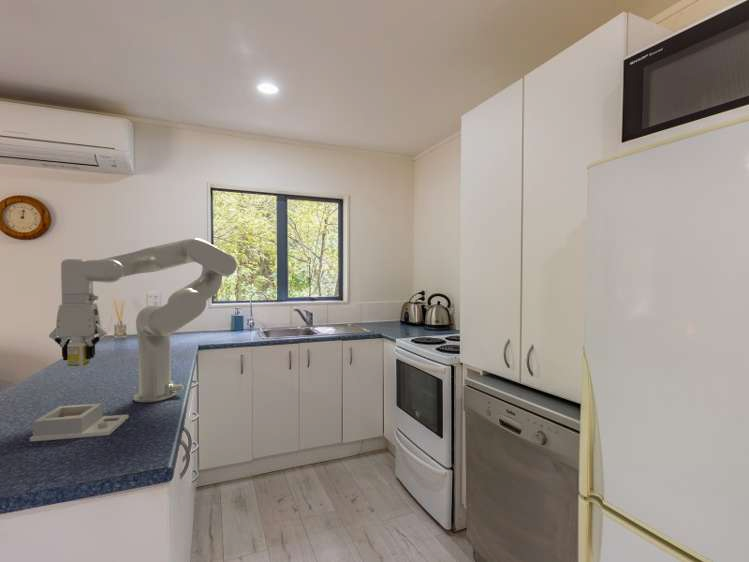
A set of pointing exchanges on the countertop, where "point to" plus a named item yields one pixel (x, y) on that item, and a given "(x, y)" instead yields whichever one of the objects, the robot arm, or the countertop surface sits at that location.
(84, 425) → the white holder tray
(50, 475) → the countertop surface
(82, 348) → the supplement bottle
